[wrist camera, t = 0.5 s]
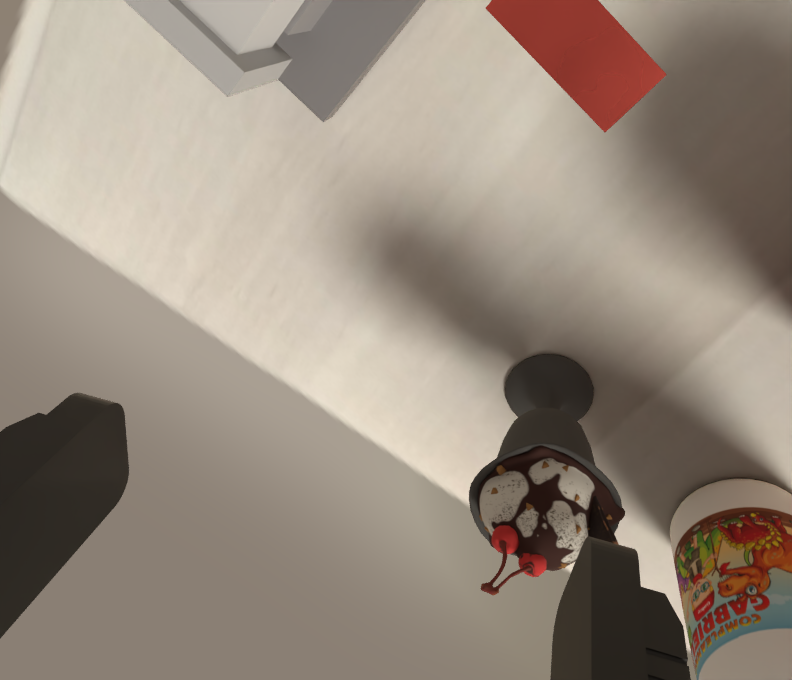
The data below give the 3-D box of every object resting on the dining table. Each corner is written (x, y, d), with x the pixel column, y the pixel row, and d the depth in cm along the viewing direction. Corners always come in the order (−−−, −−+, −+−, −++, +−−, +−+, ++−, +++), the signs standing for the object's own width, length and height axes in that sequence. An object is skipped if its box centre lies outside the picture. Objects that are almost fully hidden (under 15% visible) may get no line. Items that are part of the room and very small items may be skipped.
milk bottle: (834, 493, 38) (1052, 912, 21) (777, 588, 42) (924, 1010, 25) (693, 459, 39) (792, 833, 22) (650, 555, 43) (706, 939, 26)
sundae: (466, 385, 41) (418, 576, 28) (554, 318, 37) (547, 497, 24) (542, 458, 42) (530, 674, 29) (633, 398, 39) (667, 610, 26)
